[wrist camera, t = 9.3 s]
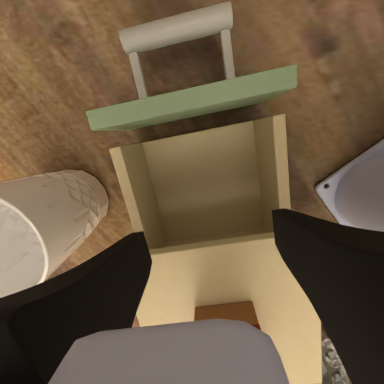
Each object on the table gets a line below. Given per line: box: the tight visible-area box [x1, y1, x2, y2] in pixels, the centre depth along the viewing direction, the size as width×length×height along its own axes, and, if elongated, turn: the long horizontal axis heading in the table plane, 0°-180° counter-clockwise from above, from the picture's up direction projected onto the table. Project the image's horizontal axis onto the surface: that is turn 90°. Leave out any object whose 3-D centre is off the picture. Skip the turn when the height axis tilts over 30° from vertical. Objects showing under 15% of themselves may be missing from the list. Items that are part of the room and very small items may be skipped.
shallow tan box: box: [136, 208, 322, 384], centre depth 20 cm, size 15×14×8 cm
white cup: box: [0, 170, 109, 298], centre depth 17 cm, size 8×8×10 cm
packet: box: [194, 301, 261, 330], centre depth 14 cm, size 6×4×5 cm
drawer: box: [85, 1, 298, 250], centre depth 16 cm, size 18×13×6 cm
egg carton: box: [321, 327, 349, 384], centre depth 25 cm, size 11×8×4 cm
